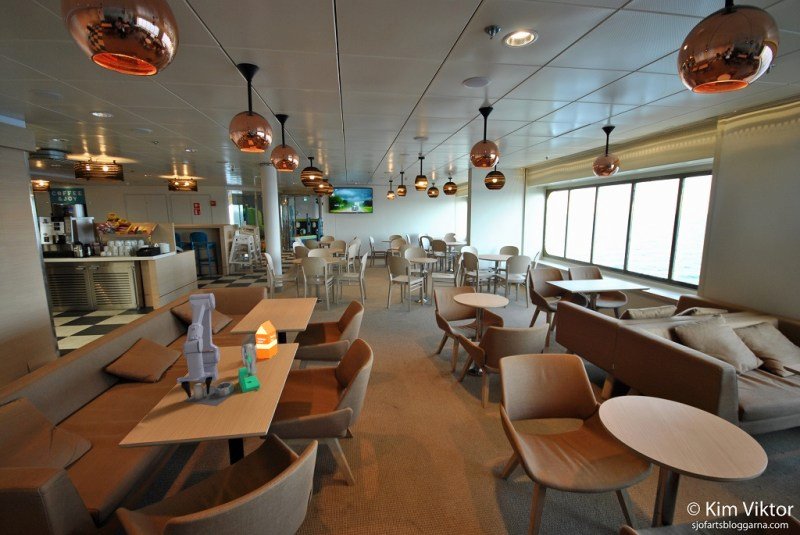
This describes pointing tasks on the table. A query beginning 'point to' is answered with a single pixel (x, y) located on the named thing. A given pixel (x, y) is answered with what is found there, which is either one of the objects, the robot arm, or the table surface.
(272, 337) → the orange juice
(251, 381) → the camera mount
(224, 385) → the sleeve
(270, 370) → the table surface
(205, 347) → the robot arm
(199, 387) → the plug cap
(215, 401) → the mat
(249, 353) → the beer glass
